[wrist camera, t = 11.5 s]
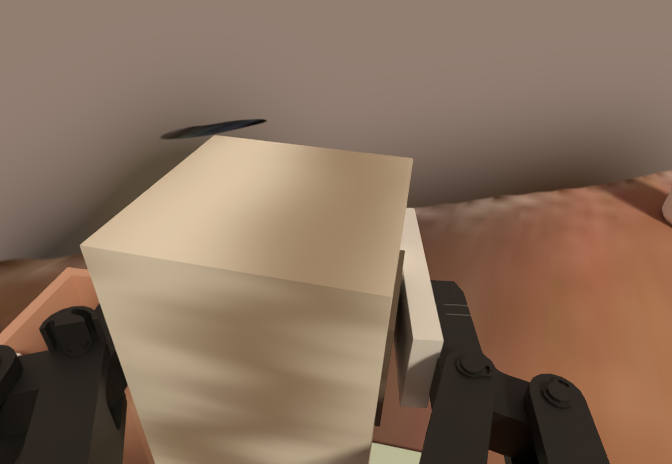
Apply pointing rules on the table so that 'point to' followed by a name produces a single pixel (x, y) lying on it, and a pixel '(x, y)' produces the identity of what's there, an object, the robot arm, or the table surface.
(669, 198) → the alcohol
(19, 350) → the terracotta open box
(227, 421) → the beige rectangular block
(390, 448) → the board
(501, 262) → the table surface
